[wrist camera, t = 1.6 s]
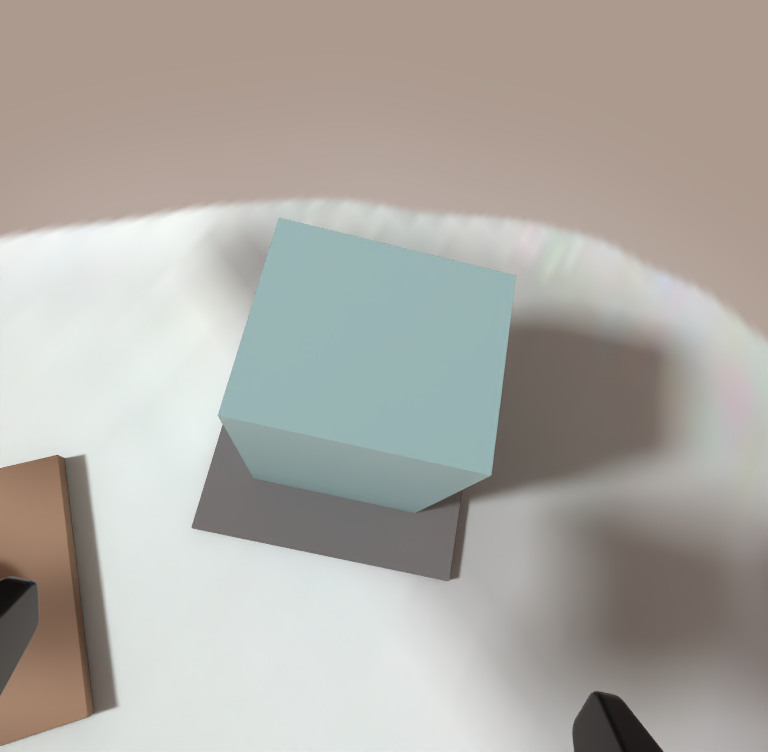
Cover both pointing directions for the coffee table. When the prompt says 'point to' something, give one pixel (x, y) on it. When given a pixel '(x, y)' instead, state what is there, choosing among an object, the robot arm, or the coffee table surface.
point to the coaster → (43, 601)
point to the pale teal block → (369, 370)
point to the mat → (324, 520)
